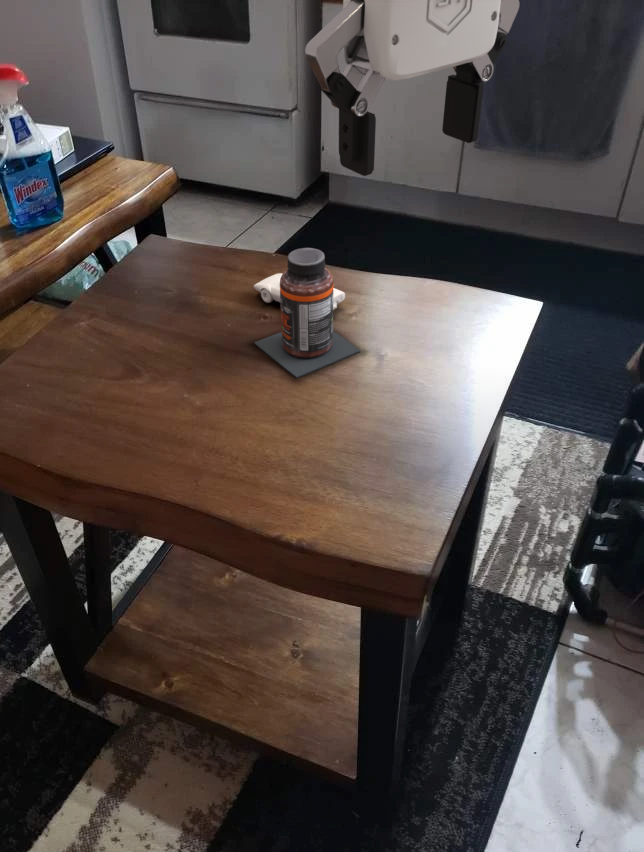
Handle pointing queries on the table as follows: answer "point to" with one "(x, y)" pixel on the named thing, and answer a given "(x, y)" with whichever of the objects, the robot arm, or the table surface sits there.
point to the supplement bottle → (306, 304)
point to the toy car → (273, 290)
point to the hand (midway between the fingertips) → (409, 153)
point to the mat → (305, 365)
